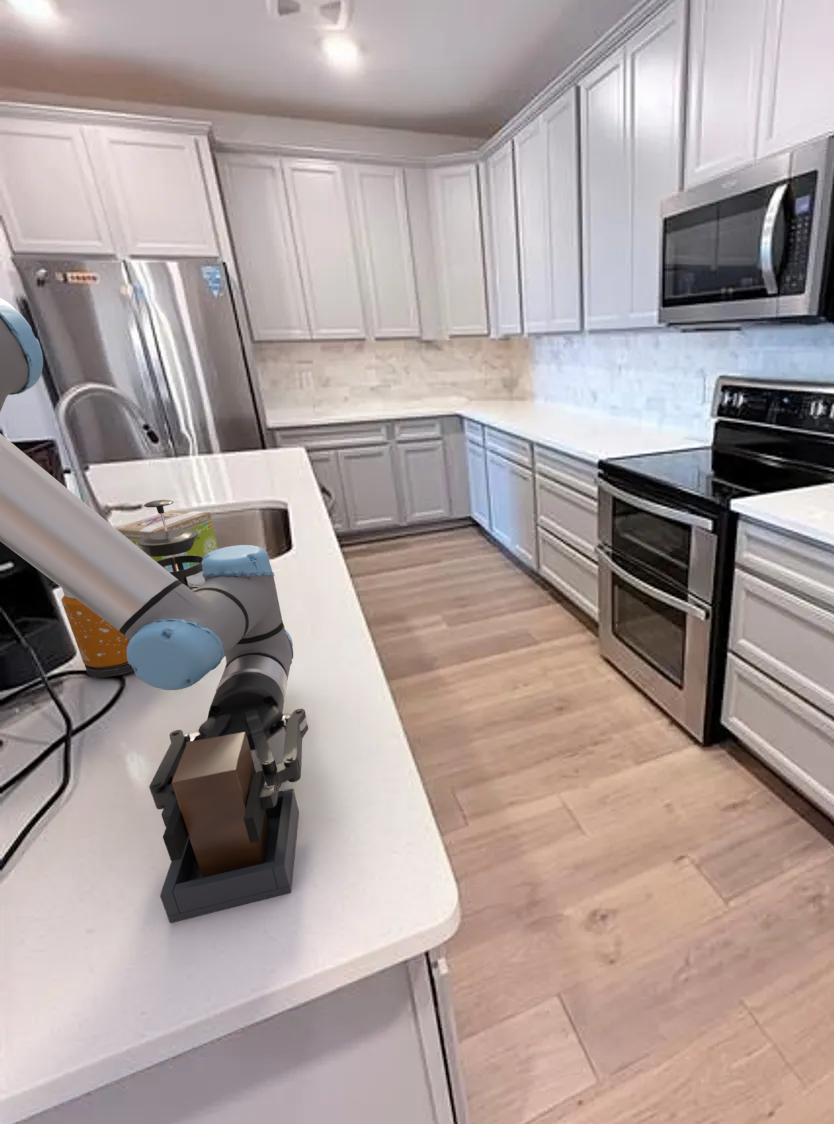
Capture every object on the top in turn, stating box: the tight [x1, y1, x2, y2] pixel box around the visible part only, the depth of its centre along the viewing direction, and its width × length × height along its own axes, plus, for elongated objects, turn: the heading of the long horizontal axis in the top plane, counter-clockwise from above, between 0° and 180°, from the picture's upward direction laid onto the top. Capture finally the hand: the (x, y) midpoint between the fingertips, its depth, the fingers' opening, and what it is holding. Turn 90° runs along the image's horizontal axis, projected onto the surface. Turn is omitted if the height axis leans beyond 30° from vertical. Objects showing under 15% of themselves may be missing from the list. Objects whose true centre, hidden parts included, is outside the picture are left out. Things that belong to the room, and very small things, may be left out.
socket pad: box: [159, 788, 300, 923], centre depth 60 cm, size 10×11×3 cm
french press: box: [137, 499, 203, 591], centre depth 106 cm, size 12×9×23 cm
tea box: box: [115, 509, 219, 585], centre depth 125 cm, size 15×10×15 cm, turn 170°
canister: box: [61, 588, 134, 678], centre depth 93 cm, size 9×11×20 cm
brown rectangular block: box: [172, 732, 270, 878], centre depth 58 cm, size 5×6×12 cm
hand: (212, 838), depth 53 cm, fingers open, 5 cm apart
